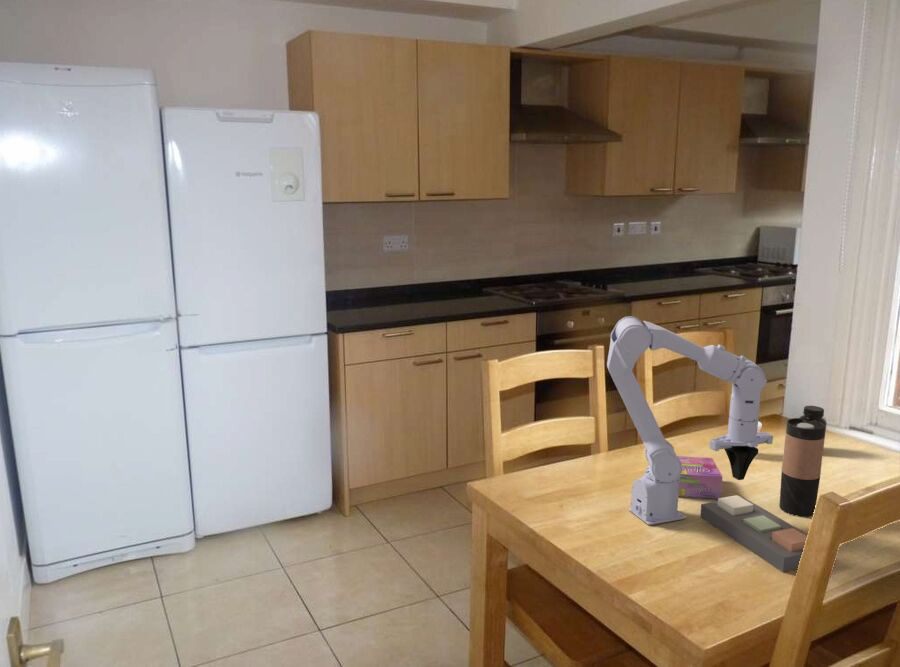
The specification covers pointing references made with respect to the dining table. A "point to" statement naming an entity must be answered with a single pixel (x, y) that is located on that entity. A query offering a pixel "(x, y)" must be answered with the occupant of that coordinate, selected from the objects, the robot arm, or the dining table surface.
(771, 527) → the sage button
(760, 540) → the console
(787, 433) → the travel mug
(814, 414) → the supplement bottle
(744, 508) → the cream button
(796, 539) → the terracotta button
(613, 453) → the dining table surface
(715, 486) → the box
